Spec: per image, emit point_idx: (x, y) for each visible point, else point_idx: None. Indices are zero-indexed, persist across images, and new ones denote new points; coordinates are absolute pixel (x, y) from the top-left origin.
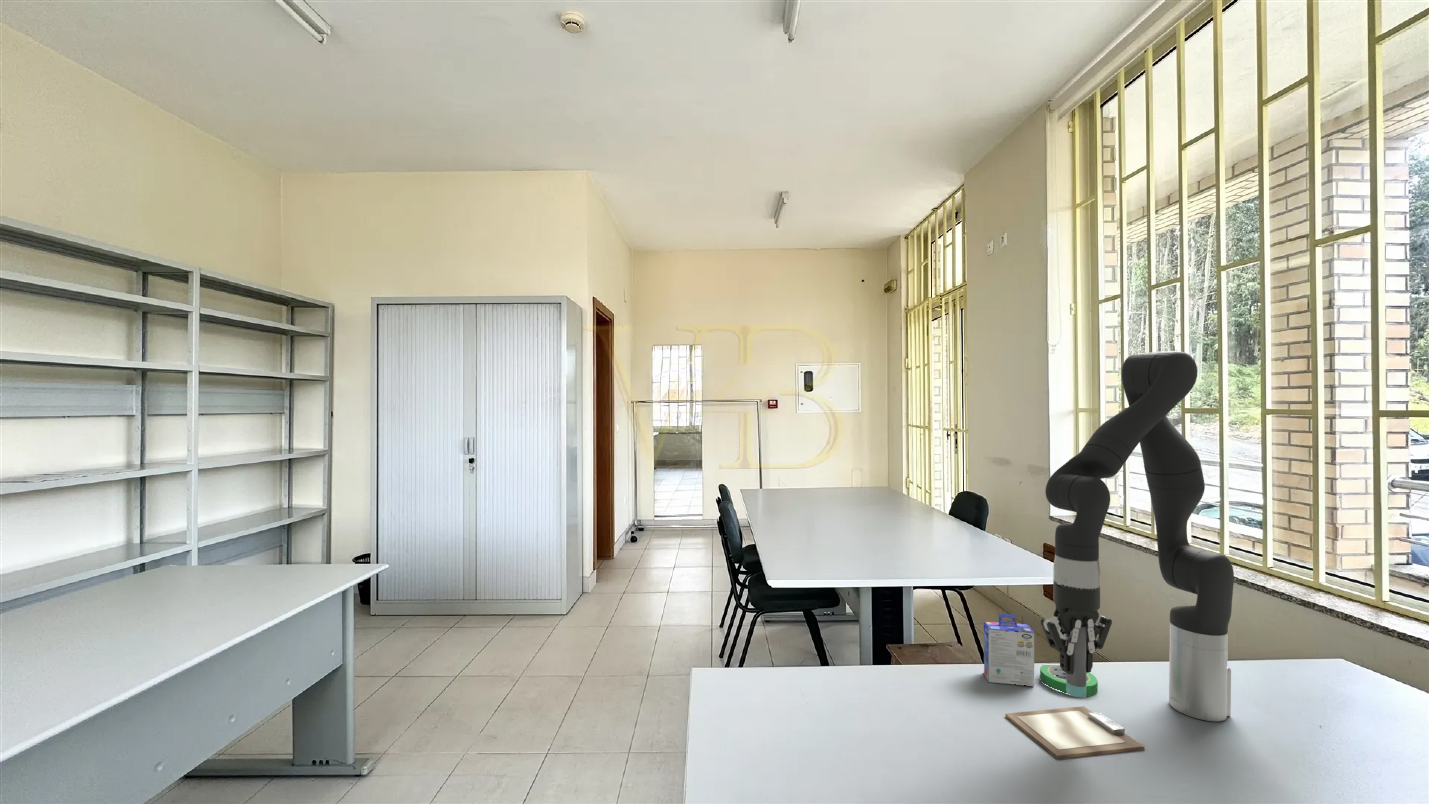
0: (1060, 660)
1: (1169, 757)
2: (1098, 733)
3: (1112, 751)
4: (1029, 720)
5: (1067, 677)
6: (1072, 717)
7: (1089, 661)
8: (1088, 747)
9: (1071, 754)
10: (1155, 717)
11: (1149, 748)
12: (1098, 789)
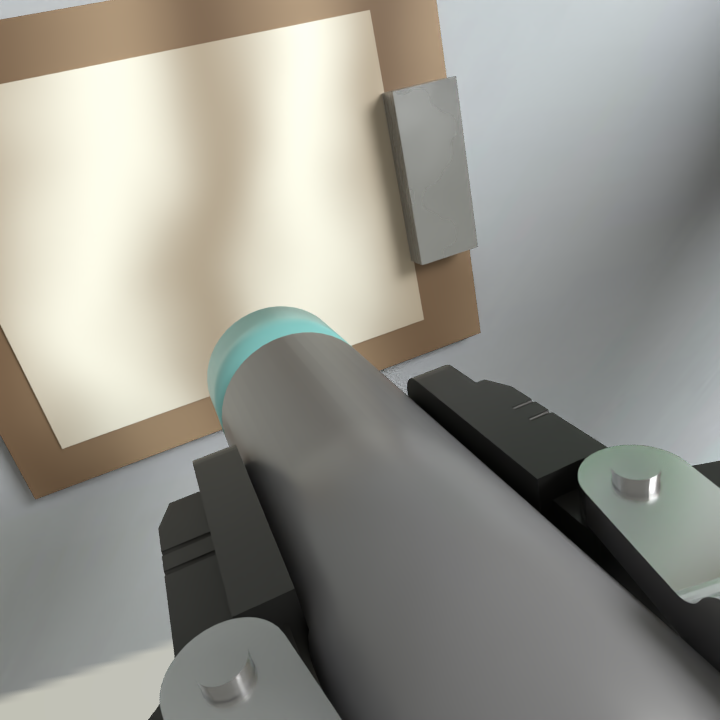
0: (170, 581)
1: (524, 364)
2: (345, 262)
3: None
4: None
5: (230, 444)
6: (291, 98)
7: None
8: None
9: (119, 467)
10: (689, 43)
11: (497, 314)
12: (140, 639)
